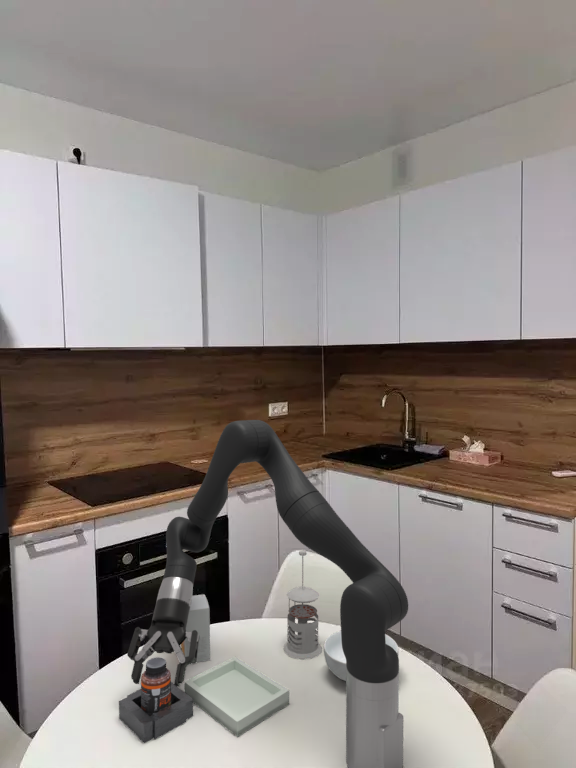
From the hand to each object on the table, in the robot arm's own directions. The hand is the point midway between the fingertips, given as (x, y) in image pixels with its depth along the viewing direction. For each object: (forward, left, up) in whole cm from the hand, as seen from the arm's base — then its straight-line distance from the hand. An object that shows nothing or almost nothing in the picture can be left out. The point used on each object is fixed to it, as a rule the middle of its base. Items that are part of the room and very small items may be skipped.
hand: (156, 684), depth 107 cm
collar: (0, 0, -7) cm, 7 cm away
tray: (-7, -15, -7) cm, 18 cm away
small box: (+14, -19, -7) cm, 25 cm away
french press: (-2, -40, -7) cm, 41 cm away
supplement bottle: (0, 0, -7) cm, 7 cm away
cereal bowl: (-20, -41, -7) cm, 46 cm away
